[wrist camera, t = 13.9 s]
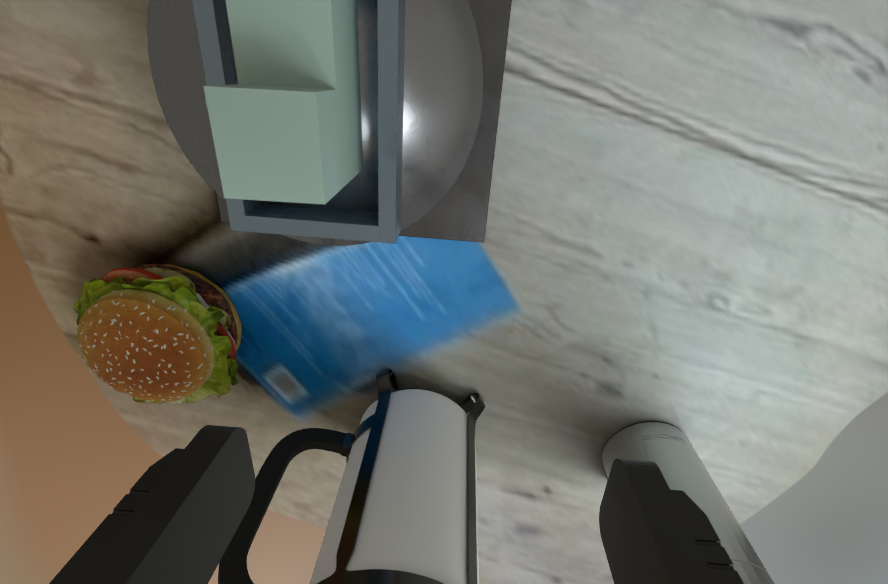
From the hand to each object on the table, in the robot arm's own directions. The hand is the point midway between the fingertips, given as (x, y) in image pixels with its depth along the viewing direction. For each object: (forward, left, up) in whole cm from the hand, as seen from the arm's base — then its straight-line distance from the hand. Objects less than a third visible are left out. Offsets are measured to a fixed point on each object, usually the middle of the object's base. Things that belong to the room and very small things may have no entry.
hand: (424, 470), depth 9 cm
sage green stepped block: (+7, +8, -20) cm, 23 cm away
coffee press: (-26, +3, -28) cm, 38 cm away
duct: (+6, +8, -28) cm, 30 cm away
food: (-16, +25, -29) cm, 41 cm away
